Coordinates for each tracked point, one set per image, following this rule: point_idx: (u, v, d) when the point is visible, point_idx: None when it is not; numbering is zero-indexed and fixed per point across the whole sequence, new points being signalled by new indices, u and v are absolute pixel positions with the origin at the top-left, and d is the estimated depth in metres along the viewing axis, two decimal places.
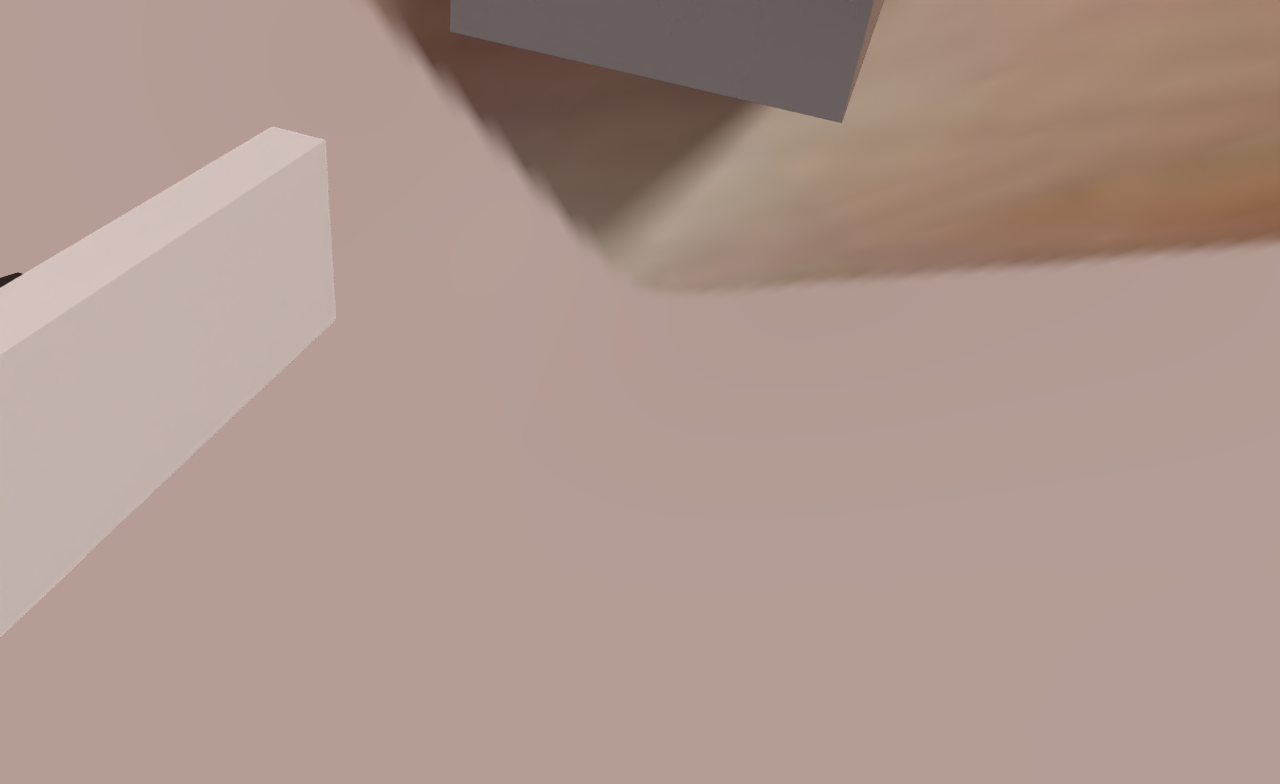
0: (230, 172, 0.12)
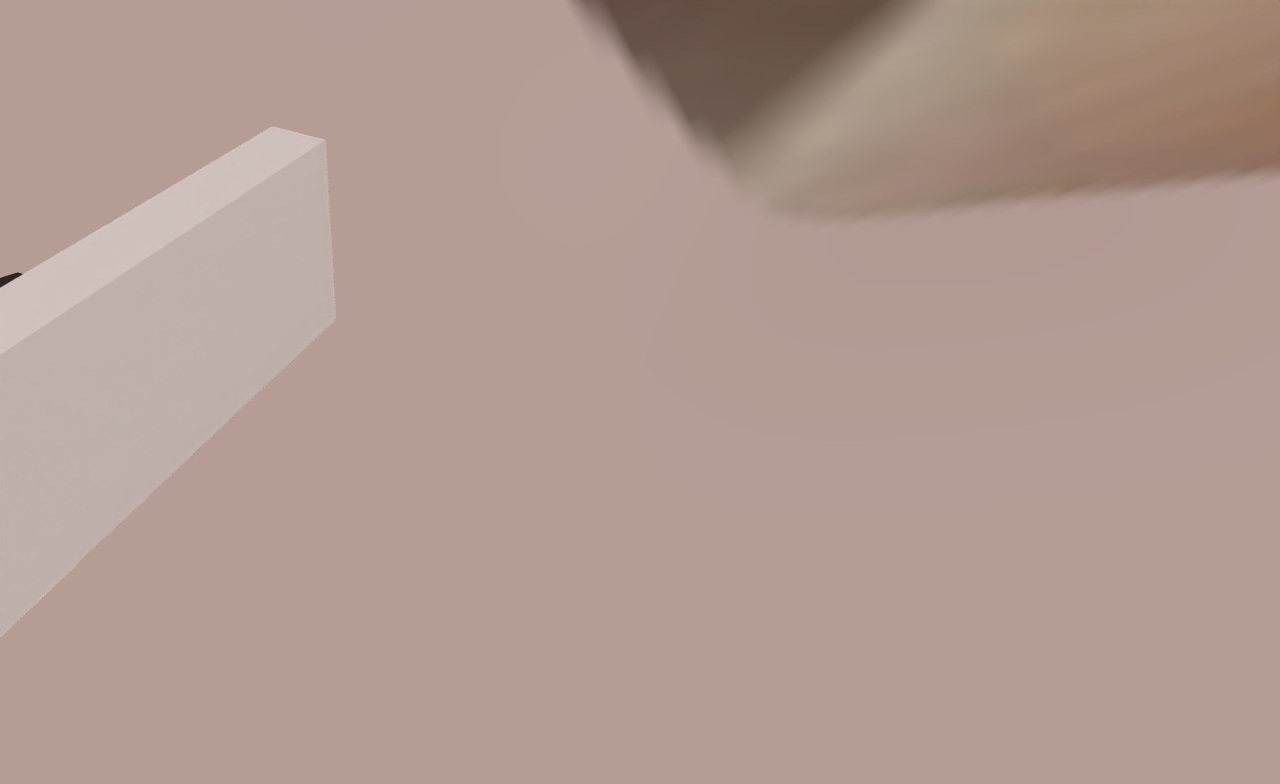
0: (230, 172, 0.12)
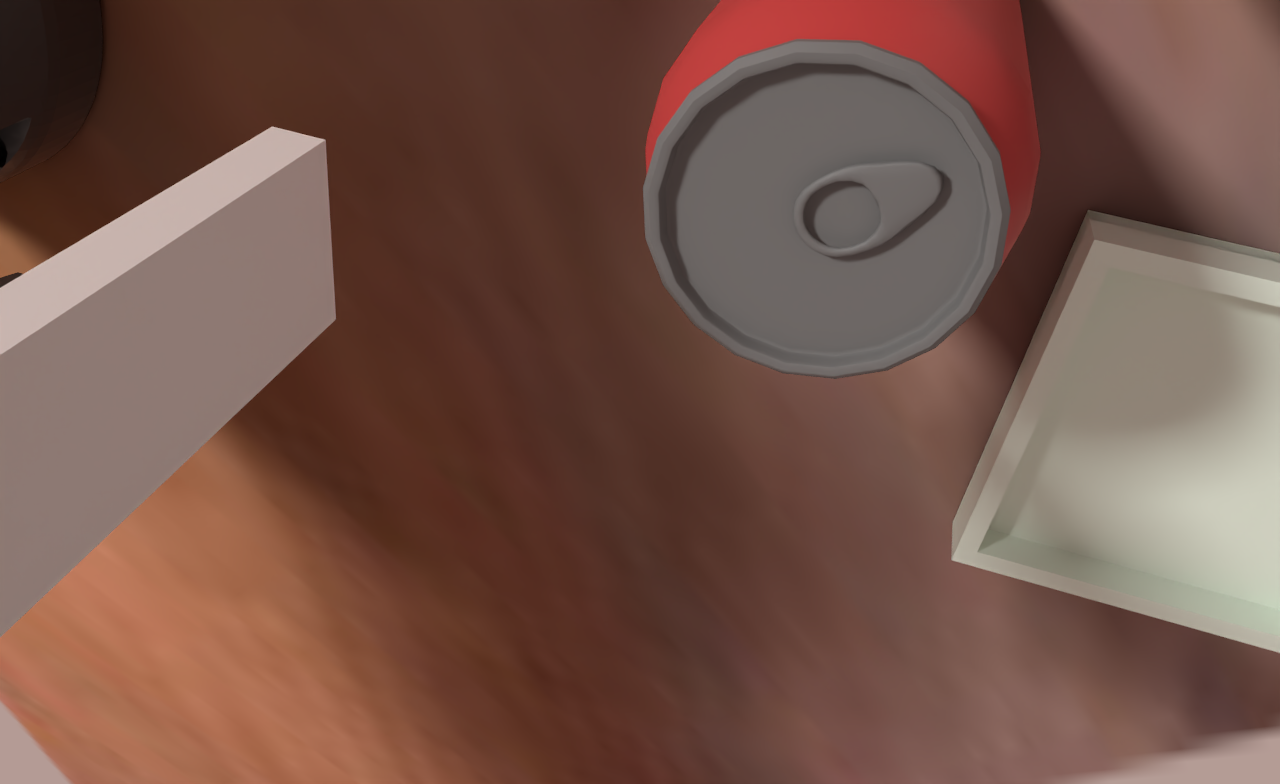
0: (230, 172, 0.12)
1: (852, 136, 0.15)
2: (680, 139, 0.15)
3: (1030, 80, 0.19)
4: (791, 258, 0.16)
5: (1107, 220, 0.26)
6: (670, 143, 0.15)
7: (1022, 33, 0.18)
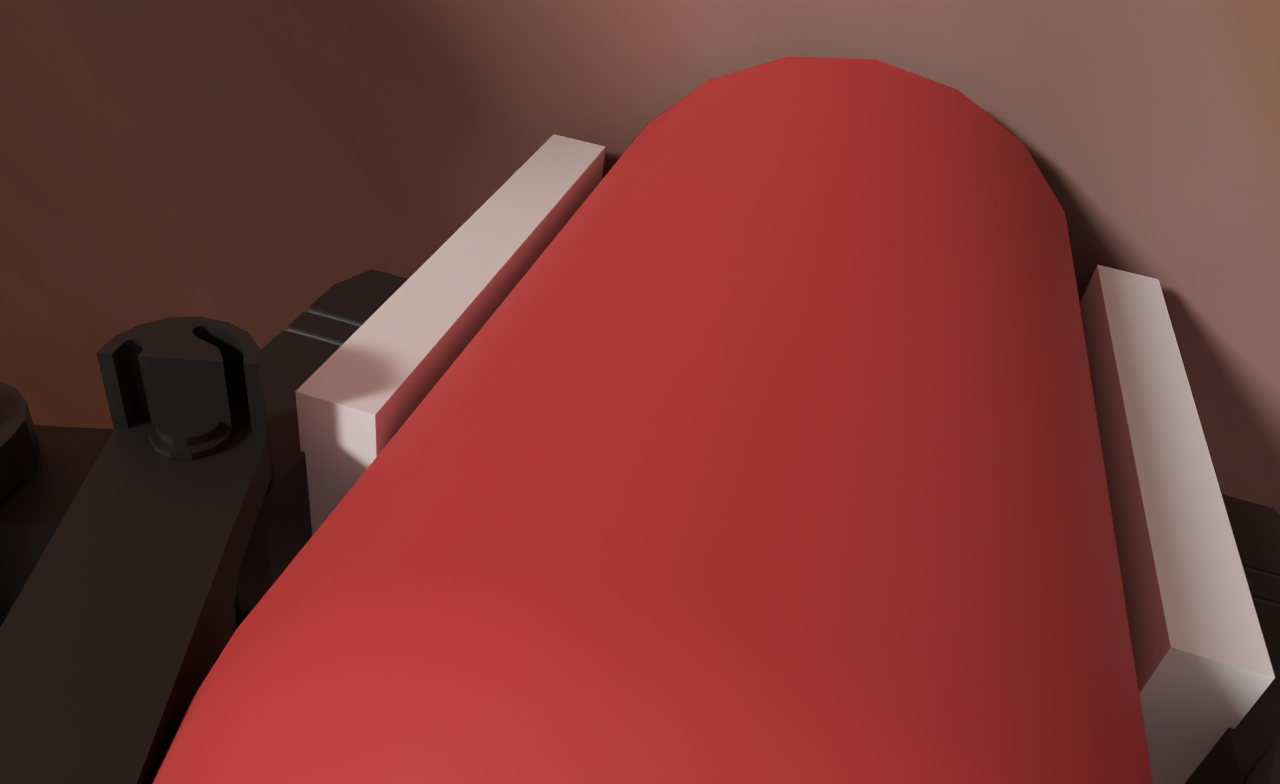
0: (541, 177, 0.13)
1: None
2: None
3: None
4: None
5: None
6: None
7: (1109, 503, 0.08)
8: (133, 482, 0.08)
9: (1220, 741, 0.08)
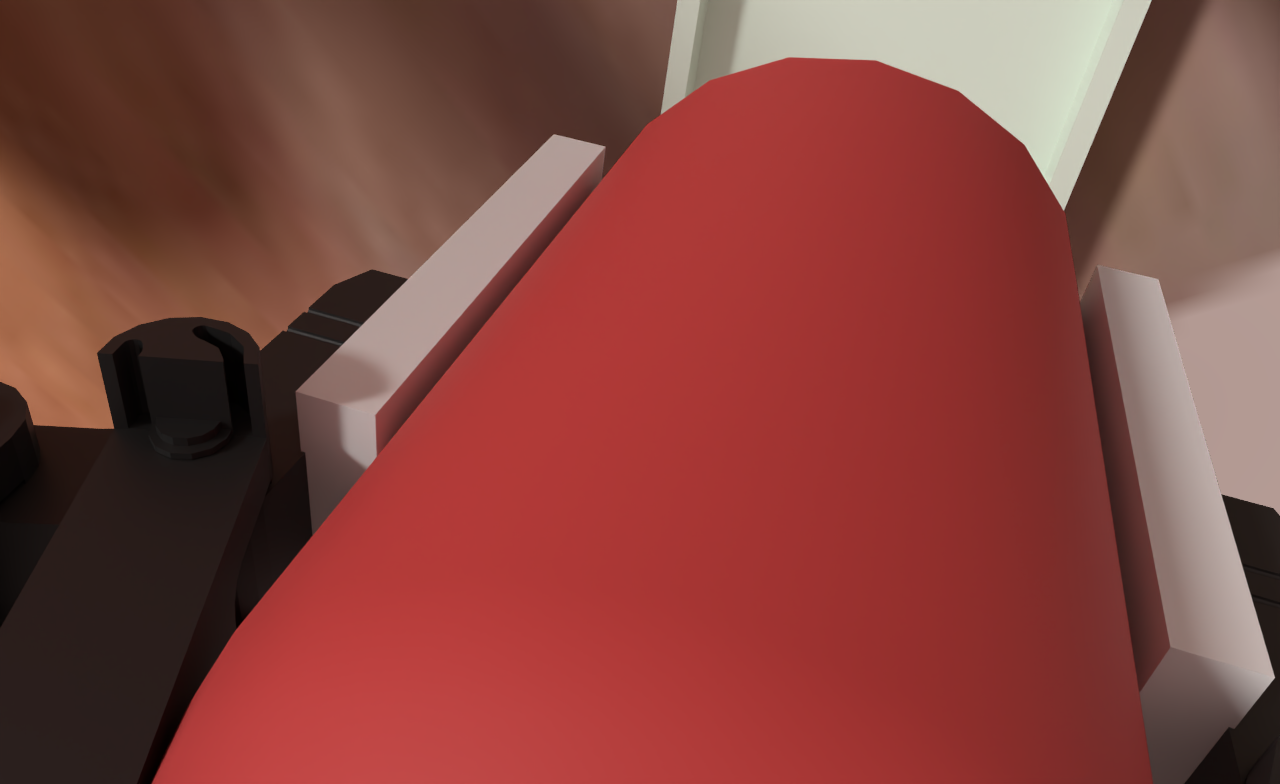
0: (540, 177, 0.13)
1: None
2: None
3: (1125, 602, 0.08)
4: None
5: None
6: None
7: (1109, 504, 0.08)
8: (134, 482, 0.08)
9: (1221, 741, 0.08)
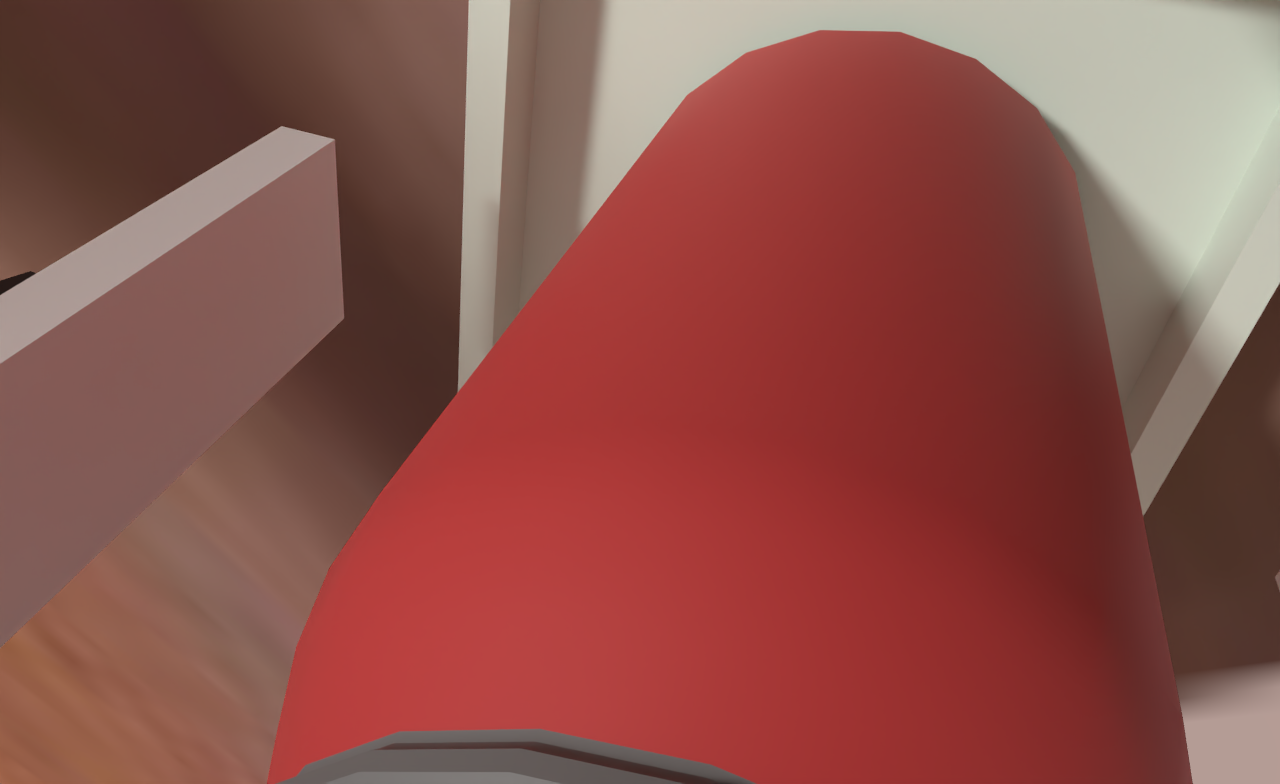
0: (241, 172, 0.12)
1: None
2: None
3: None
4: None
5: None
6: None
7: None
8: None
9: None
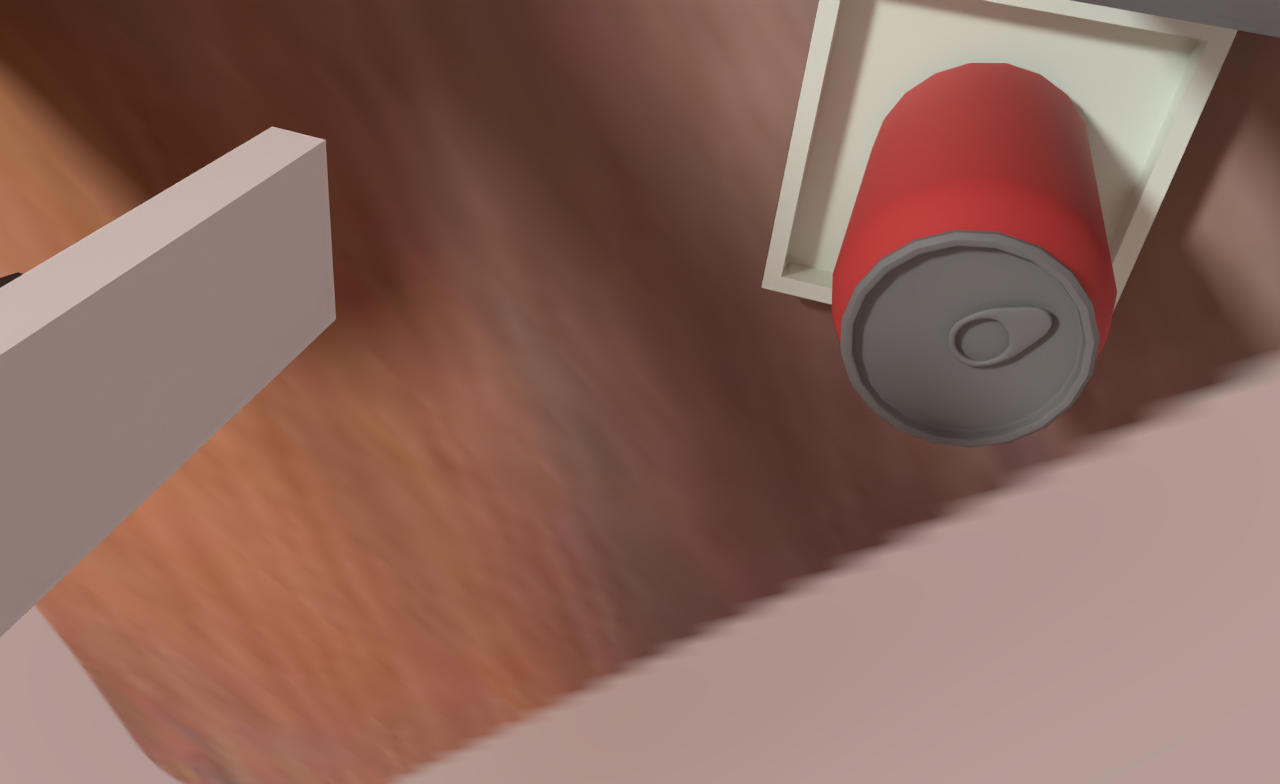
0: (230, 172, 0.12)
1: (991, 290, 0.22)
2: (870, 289, 0.23)
3: None
4: (943, 366, 0.23)
5: None
6: (864, 292, 0.23)
7: None
8: None
9: None
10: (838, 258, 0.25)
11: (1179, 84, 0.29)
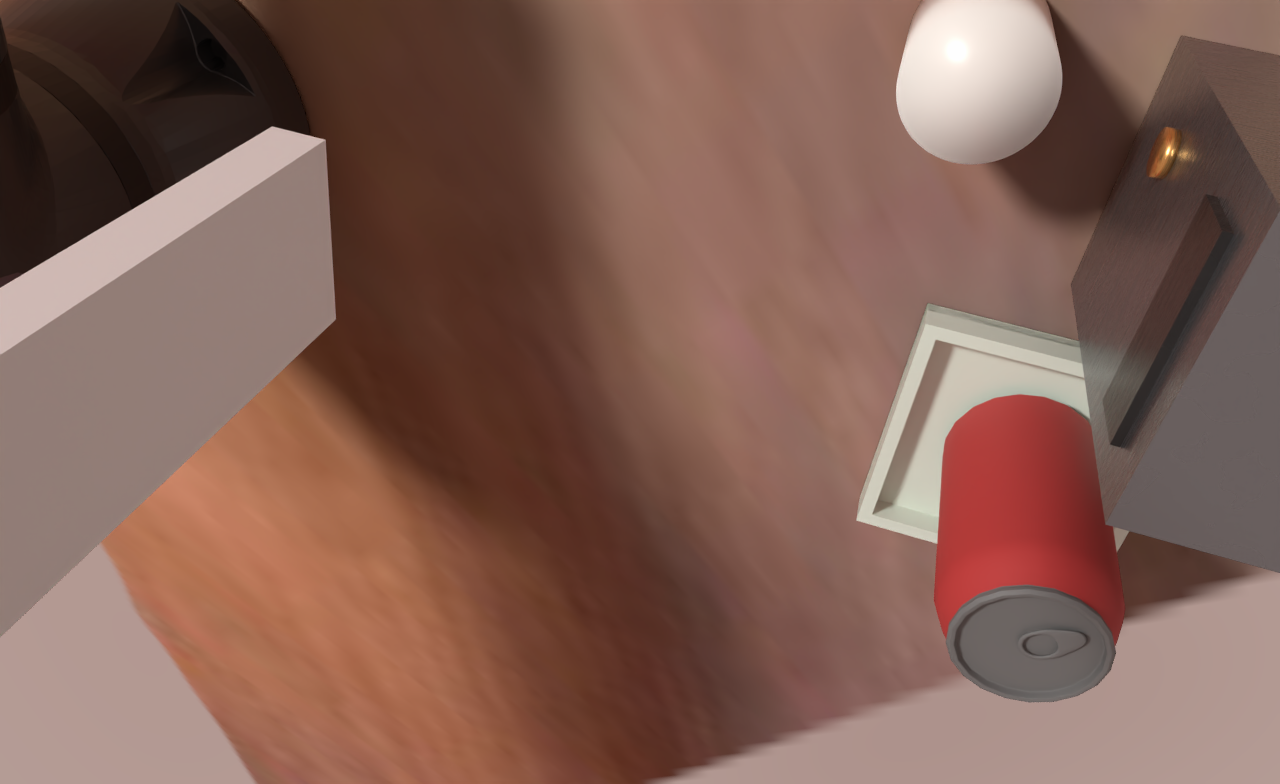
0: (230, 172, 0.12)
1: (1047, 618, 0.35)
2: None
3: (1115, 544, 0.39)
4: (1013, 654, 0.36)
5: (937, 310, 0.43)
6: (966, 614, 0.35)
7: None
8: None
9: None
10: (940, 568, 0.38)
11: None
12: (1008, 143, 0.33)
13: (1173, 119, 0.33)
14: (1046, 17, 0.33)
